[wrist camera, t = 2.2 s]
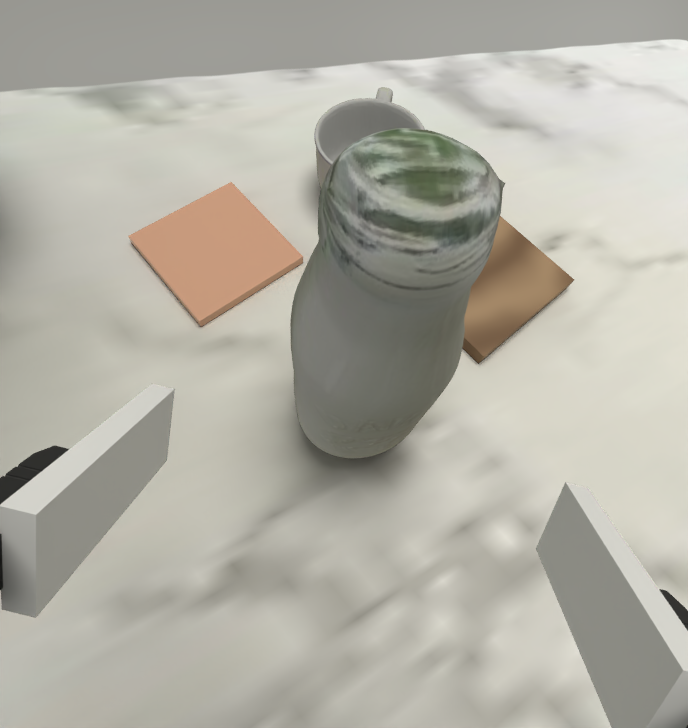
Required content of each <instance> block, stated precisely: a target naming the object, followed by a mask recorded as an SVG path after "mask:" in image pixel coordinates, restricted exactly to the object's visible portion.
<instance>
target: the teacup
mask: <svg viewBox="0 0 688 728" xmlns="http://www.w3.org/2000/svg"><path fill="white" fill-rule="evenodd" d="M392 96H393V92H392V90H391V89H389V88H385V87H381V88H379V89H378V92H377V95H376V99H371V98H365V99H352V100H348V101H345V102H342V103H340V104H338V105H336V106H334V107H332V108H331V109H329V110H328V111H327V112H326V113H325V114H324V115H323V116H322V117H321V118H320V119H319V121H318V123H317V125H316V128H315V144H316V158H317V172H318V179H319V184H320V187H321V189H322V185H323V182H324V180H325V177H326V174H327V172H328V170H329V168H330V166H331V165H332V163H333V162H334V161H335V159H336V158H337V157H338V156H339V155H340V154H341V152H342V151H344V150H345V149H346V148H347V147H348V146H350V145H351V144H353V143H354V142H356V141H358V140H360V139H362V138H364V137H366V136H369V135H371V134H374V133H378V132H381V131H386V130H390V129H397V128H411V129H421V130H425V129H424V126H423V125H422V123H421V122H420V121H419V119H418V118H417V117H416V116H415V115H414V114H412V113H411V112H410V111H408V110H407V109H405V108H403V107H401V106H399V105H397V104H394V103H391V102H392Z"/></svg>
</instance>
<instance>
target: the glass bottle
mask: <svg viewBox="0 0 688 728" xmlns="http://www.w3.org/2000/svg"><path fill="white" fill-rule="evenodd" d="M504 185H505V183H504V182H503V181H501V180H500V179H499V178H498V176H497V175H496V173H495V172H494V170H493V169H492V167H491V166H490V164H489V163H488V162H487V161H486V160H485V159H484V158H483V157H482V156H481V155H480V154H479V153H478V152H476V151H475V150H473V149H471V148H470V147H468V146H466V145H464V144H462V143H461V142H459V141H457V140H455V139H453V138H451V137H448V136H445V135H443V134H440V133H436V132H433V131H428V130H421V129H411V128H397V129H390V130H386V131H381V132H378V133H374V134H371V135H369V136H366V137H364V138H362V139H360V140H358V141H356V142H354V143H353V144H351V145H350V146H348V147H347V148H346V149H345V150H344V151H342V152H341V154H340V155H339V156H338V157H337V158H336V159H335V161H334V162H333V163H332V165H331V166H330V168H329V170H328V172H327V174H326V177H325V180H324V182H323V185H322V189H321V193H320V197H319V210H318V235H319V242H318V244H317V246H316V248H315V249H314V251H313V253H312V255H311V257H310V259H309V262H308V264H307V266H306V268H305V271H304V273H303V275H302V277H301V279H300V282H299V284H298V286H297V289H296V292H295V296H294V300H293V305H292V313H291V351H292V360H293V368H294V395H295V403H296V408H297V415H298V419H299V422H300V425H301V427H302V429H303V431H304V433H305V435H306V436H307V437H308V439H309V440H310V441H311V442H312V443H313V444H314V445H315V446H316V447H318V448H319V449H321V450H322V451H324V452H326V453H329V454H331V455H334V456H338V457H343V458H364V457H370V456H374V455H377V454H380V453H383V452H385V451H387V450H389V449H391V448H392V447H394V446H396V445H397V444H398V443H400V442H401V441H402V440H403V439H404V438H405V437H406V436H407V435H408V434H409V433H410V432H411V430H412V429H413V428H414V427H415V425H416V424H417V423H418V422H419V420H420V419H421V418H422V417H423V415H424V414H425V413H426V412H427V411H428V409H429V408H430V407H431V406H432V405H433V404H434V402H435V401H436V400H437V398H438V397H439V396H440V395H441V393H442V392H443V391H444V389H445V388H446V386H447V385H448V383H449V382H450V380H451V379H452V377H453V375H454V373H455V371H456V369H457V366H458V363H459V359H460V356H461V351H462V347H463V340H464V333H465V326H464V318H465V313H466V310H467V305H468V301H469V296H470V291H471V286H472V285H473V284H474V282H475V281H476V279H477V278H478V276H479V275H480V273H481V272H482V270H483V268H484V266H485V264H486V262H487V261H488V258H489V255H490V252H491V250H492V246H493V242H494V238H495V234H496V231H497V227H498V222H499V218H500V213H501V203H502V191H503V187H504Z"/></svg>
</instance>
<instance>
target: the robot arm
mask: <svg viewBox="0 0 688 728" xmlns="http://www.w3.org/2000/svg"><path fill="white" fill-rule="evenodd" d="M174 390H175V389H173V388H169V387H165V386H160V385H156V384H151V385H149V386H148V387H147V388H146V389H144V390H143V391H142V392H141V393H139V394H138V395H137V396H136V397H134V398H133V399H132V400H131V401H129V402H128V403H127V404H126V405H124V406H123V407H122V408H121V409H119V410H118V411H117V412H116V413H114V414H113V415H112V416H110V417H109V418H108V419H107V420H105V421H104V422H103V423H102V424H100V425H99V426H98V427H97V428H95V429H94V430H93V431H92V432H90V433H89V434H88V435H87V436H85V437H84V438H83V439H82V440H80V441H79V442H78V443H77V444H75V445H74V446H73V447H72V448H70V449H66V448H62V447H58V446H52V447H50V448H47V449H44V450H42V451H39V452H37V453H34V454H33V455H31V456H30V457H28V458H27V459H26V460H24V461H23V462H22V463H20V464H19V465H18V467H15V468H13V469H12V470H11V471H9V472H8V473H6V476H5V477H4V476H2V477H1V478H0V590H1V599H2V610H6V611H11V612H15V613H19V614H23V615H27V616H31V617H35V618H36V617H37V616H38V615H39V613H40V612H41V611H42V610H43V609H44V607H45V606H46V605H47V604H48V603H49V601H50V600H51V599H52V598H53V597H54V595H55V594H56V593H57V592H58V591H59V589H60V588H61V587H62V586H63V585H64V583H65V582H66V581H67V580H68V579H69V577H70V576H71V575H72V574H73V573H74V571H75V570H76V569H77V568H78V567H79V565H80V564H81V563H82V562H83V561H84V559H85V558H86V557H87V556H88V555H89V553H90V552H91V551H92V550H93V548H94V547H95V546H96V545H97V544H98V542H99V541H100V540H101V539H102V538H103V536H104V535H105V534H106V533H107V532H108V530H109V529H110V528H111V527H112V526H113V524H114V523H115V522H116V521H117V520H118V518H119V517H120V516H121V515H122V514H123V512H124V511H125V510H126V509H127V508H128V506H129V505H130V504H131V503H132V502H133V500H134V499H135V498H136V497H137V496H138V494H139V493H140V492H141V491H142V490H143V488H144V487H145V486H146V485H147V484H148V482H149V481H150V480H151V479H152V478H153V476H154V475H155V474H156V473H157V472H158V470H159V469H160V468H161V467H162V466H163V464H164V463H165V462H166V461H167V454H168V445H169V436H170V427H171V417H172V408H173V399H174ZM536 550H537V552H538V555H539V557H540V559H541V562H542V564H543V567H544V569H545V571H546V574H547V576H548V578H549V581H550V583H551V585H552V588H553V590H554V593H555V595H556V597H557V600H558V602H559V604H560V607H561V609H562V611H563V614H564V616H565V619H566V621H567V623H568V626H569V628H570V630H571V633H572V635H573V637H574V640H575V642H576V644H577V647H578V649H579V652H580V654H581V656H582V659H583V661H584V663H585V666H586V668H587V670H588V673H589V675H590V678H591V680H592V682H593V685H594V687H595V689H596V692H597V694H598V696H599V699H600V701H601V704H602V706H603V708H604V711H605V713H606V715H607V718H608V720H609V722H610V725H611V727H612V728H688V611H687V609H686V608H685V607H684V606H683V605H681V604H680V603H679V602H678V601H677V600H676V599H675V598H674V597H673V596H672V595H671V594H670V593H668V592H667V591H665V590H661V589H658V587H657V586H656V584H655V583H654V581H653V580H652V579H651V577H650V576H649V574H648V573H647V571H646V570H645V568H644V567H643V566H642V564H641V563H640V561H639V560H638V558H637V557H636V556H635V554H634V553H633V551H632V550H631V548H630V547H629V545H628V544H627V543H626V541H625V540H624V538H623V537H622V535H621V534H620V532H619V531H618V530H617V528H616V527H615V525H614V524H613V522H612V521H611V519H610V518H609V517H608V515H607V514H606V512H605V511H604V509H603V508H602V506H601V505H600V504H599V502H598V501H597V499H596V498H595V496H594V495H593V493H592V492H591V491H590V489H589V488H588V487H584V486H580V485H575V484H571V483H567V482H565V485H564V487H563V489H562V491H561V494H560V496H559V498H558V500H557V503H556V505H555V507H554V509H553V512H552V514H551V516H550V518H549V521H548V523H547V525H546V527H545V530H544V532H543V534H542V536H541V539H540V541H539V543H538V545H537V548H536Z"/></svg>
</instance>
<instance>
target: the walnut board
mask: <svg viewBox="0 0 688 728" xmlns="http://www.w3.org/2000/svg"><path fill="white" fill-rule="evenodd" d="M573 281H574V279H573V278H572V277H570V276H569V275H568V274H567V273H566V272H565V271H564V270H562V269H561V268H560V267H559V266H558V265H557V264H555V263H554V262H553V261H552V260H551V259H550V258H548V257H547V256H546V255H545V254H544V253H543V252H541V251H540V250H539V249H538V248H537V247H536V246H534V245H533V244H532V243H531V242H530V241H529V240H528V239H526V238H525V237H524V236H523V235H522V234H521V233H519V232H518V231H517V230H516V229H515V228H514V227H512V226H511V225H510V224H509V223H508V222H507V221H505V220H504V219H503V218H502V217H501V216H500V218H499V222H498V227H497V231H496V234H495V238H494V242H493V246H492V250H491V252H490V255H489V258H488V261H487V262H486V264H485V266H484V268H483V270H482V272H481V273H480V275H479V276H478V278H477V279H476V281H475V282H474V284H473V285H472V286H471V291H470V296H469V301H468V305H467V310H466V313H465V318H464V326H465V333H464V340H463V347H462V348H463V349H464V350H465V351H466V352H467V353H468V354H469V355H470V356H471V357H472V358H473V359H474V360H475V361H476V362H477V363H478V364H479V363H480V362H481V361H482V360H483V359H485V358H486V357H487V356H488V355H489V354H490V353H492V352H493V351H494V350H495V349H496V348H497V347H499V346H500V345H501V344H502V343H503V342H504V341H506V340H507V339H508V338H509V337H510V336H511V335H513V334H514V333H515V332H516V331H517V330H518V329H520V328H521V327H522V326H523V325H524V324H525V323H527V322H528V321H529V320H530V319H531V318H532V317H534V316H535V315H536V314H537V313H538V312H539V311H541V310H542V309H543V308H544V307H545V306H546V305H548V304H549V303H550V302H551V301H552V300H553V299H555V298H556V297H557V296H558V295H559V294H560V293H562V292H563V291H564V290H565V289H566V288H567V287H568V286H569V285H570V284H571V283H572V282H573Z"/></svg>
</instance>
